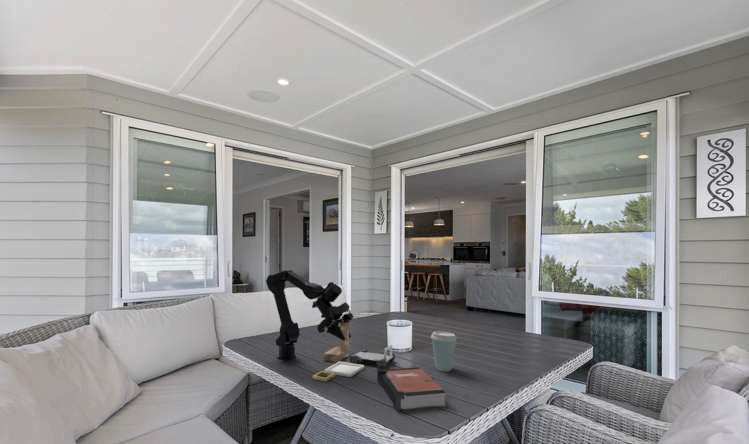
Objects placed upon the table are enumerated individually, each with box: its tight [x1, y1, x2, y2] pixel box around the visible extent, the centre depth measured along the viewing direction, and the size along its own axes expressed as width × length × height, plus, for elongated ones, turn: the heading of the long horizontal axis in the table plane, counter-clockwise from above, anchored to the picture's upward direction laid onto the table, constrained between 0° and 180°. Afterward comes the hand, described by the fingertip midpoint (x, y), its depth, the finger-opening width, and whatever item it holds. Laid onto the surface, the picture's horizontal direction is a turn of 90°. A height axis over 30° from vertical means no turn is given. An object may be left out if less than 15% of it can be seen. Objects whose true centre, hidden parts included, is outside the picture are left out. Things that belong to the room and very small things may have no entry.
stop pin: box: [339, 322, 350, 358], centre depth 153 cm, size 4×4×13 cm
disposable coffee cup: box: [430, 331, 458, 372], centre depth 154 cm, size 11×11×15 cm
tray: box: [323, 361, 365, 378], centre depth 152 cm, size 12×12×1 cm
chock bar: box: [323, 346, 346, 363], centre depth 170 cm, size 7×12×4 cm, turn 160°
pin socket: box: [311, 370, 336, 383], centre depth 143 cm, size 6×6×1 cm
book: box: [376, 366, 447, 412], centre depth 129 cm, size 26×18×5 cm
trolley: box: [349, 344, 396, 369], centre depth 162 cm, size 17×12×8 cm
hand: (347, 338), depth 152 cm, fingers closed on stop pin, 4 cm apart
